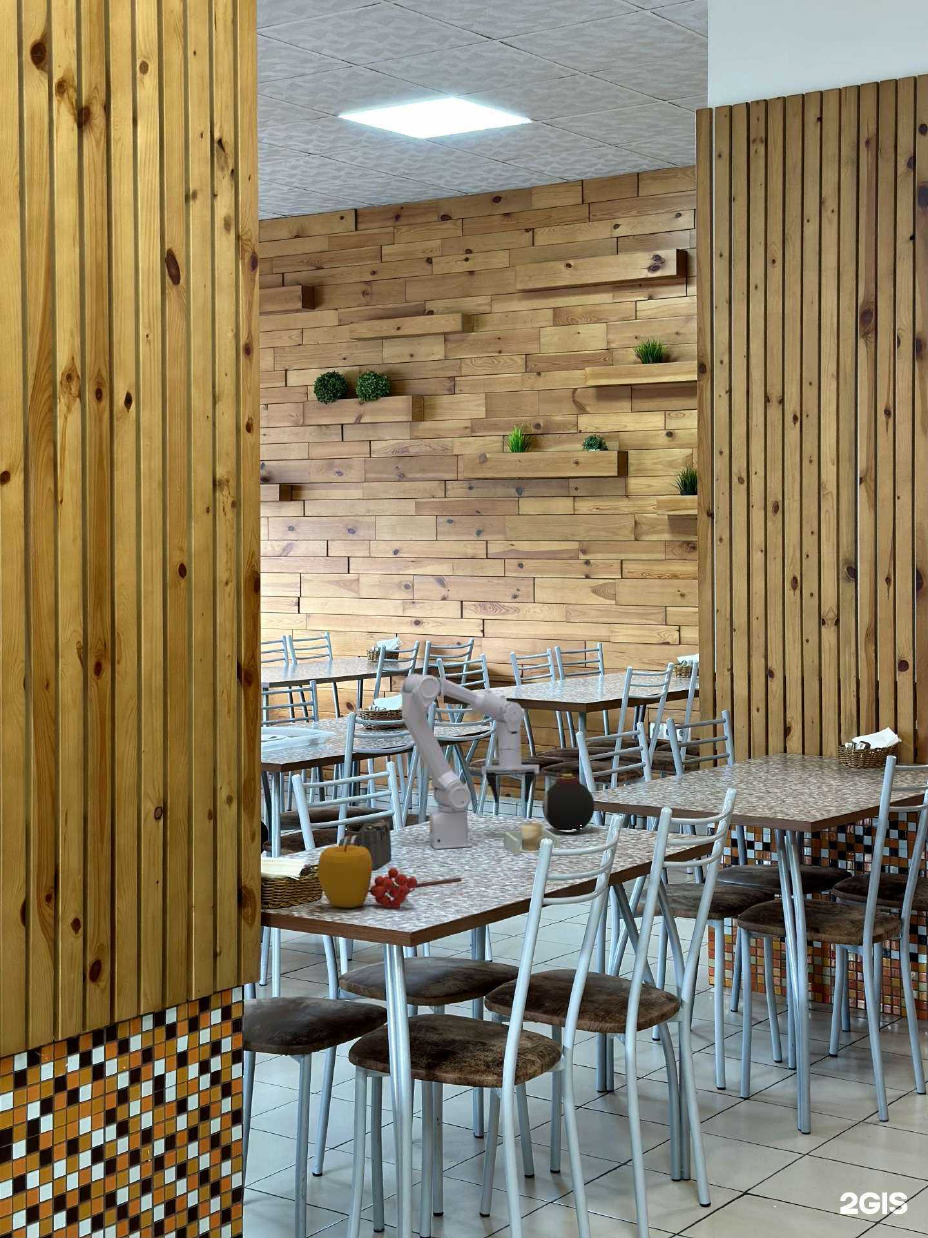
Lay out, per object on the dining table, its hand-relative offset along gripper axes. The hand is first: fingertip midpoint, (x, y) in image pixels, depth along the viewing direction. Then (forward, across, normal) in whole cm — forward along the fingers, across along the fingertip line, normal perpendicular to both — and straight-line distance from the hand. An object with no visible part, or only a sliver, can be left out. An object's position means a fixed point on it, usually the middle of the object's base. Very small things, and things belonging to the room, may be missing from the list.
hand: (511, 802), depth 368 cm
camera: (+10, -33, -31) cm, 46 cm away
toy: (+10, +14, +8) cm, 19 cm away
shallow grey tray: (+9, +5, -15) cm, 19 cm away
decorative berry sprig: (+10, -18, -64) cm, 67 cm away
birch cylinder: (+9, +6, -16) cm, 19 cm away
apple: (+10, -30, -76) cm, 83 cm away
